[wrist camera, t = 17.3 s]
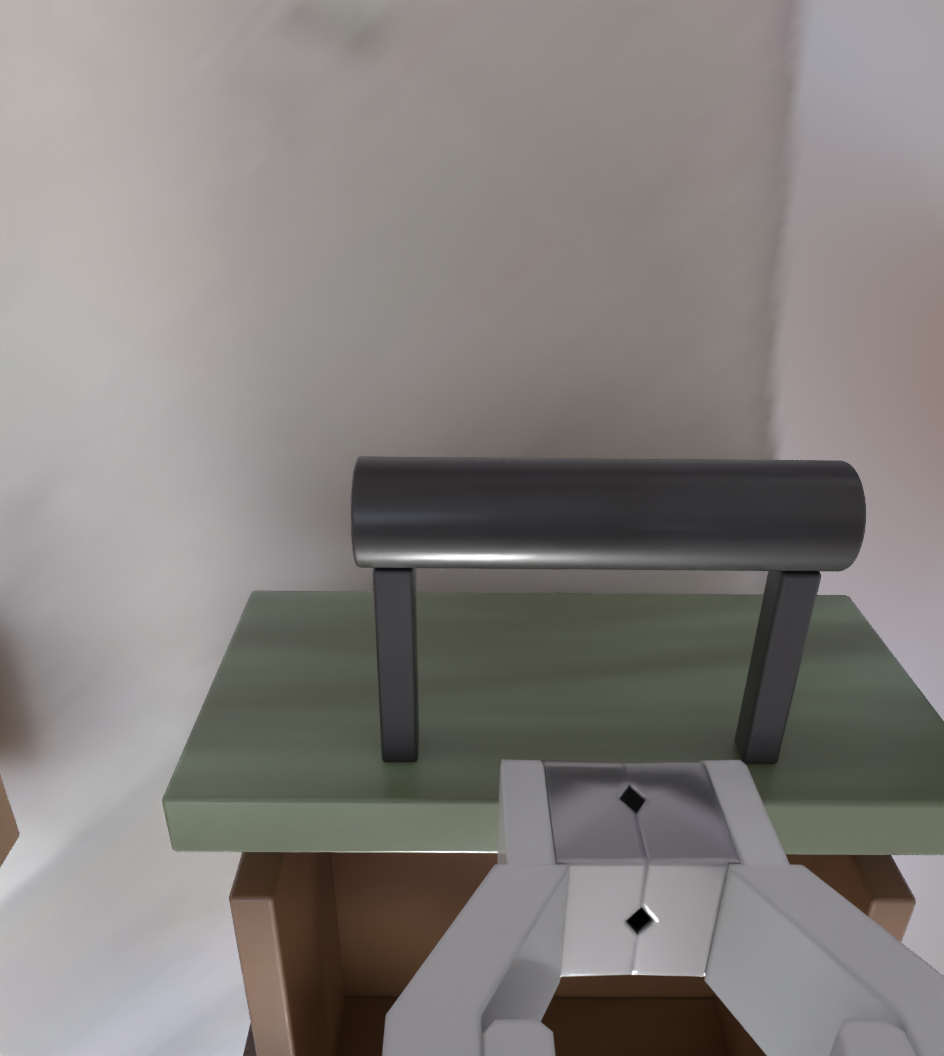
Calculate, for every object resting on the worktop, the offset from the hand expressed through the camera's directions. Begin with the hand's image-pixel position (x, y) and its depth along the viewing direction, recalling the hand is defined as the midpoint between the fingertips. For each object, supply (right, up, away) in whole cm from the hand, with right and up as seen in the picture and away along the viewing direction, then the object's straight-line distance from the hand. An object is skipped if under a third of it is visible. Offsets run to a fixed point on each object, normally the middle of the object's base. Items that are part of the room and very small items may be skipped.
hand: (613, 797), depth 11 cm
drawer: (0, -2, +10) cm, 10 cm away
